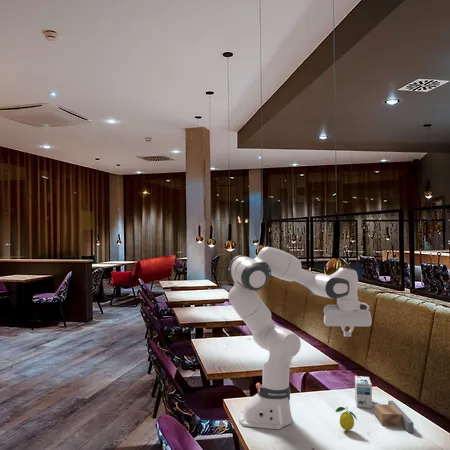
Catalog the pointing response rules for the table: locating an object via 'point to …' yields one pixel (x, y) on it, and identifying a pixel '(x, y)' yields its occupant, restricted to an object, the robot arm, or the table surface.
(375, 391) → the table surface
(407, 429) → the board
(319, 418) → the table surface
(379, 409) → the walnut block
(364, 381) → the light bulb box
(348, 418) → the lemon
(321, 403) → the table surface
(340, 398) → the table surface
